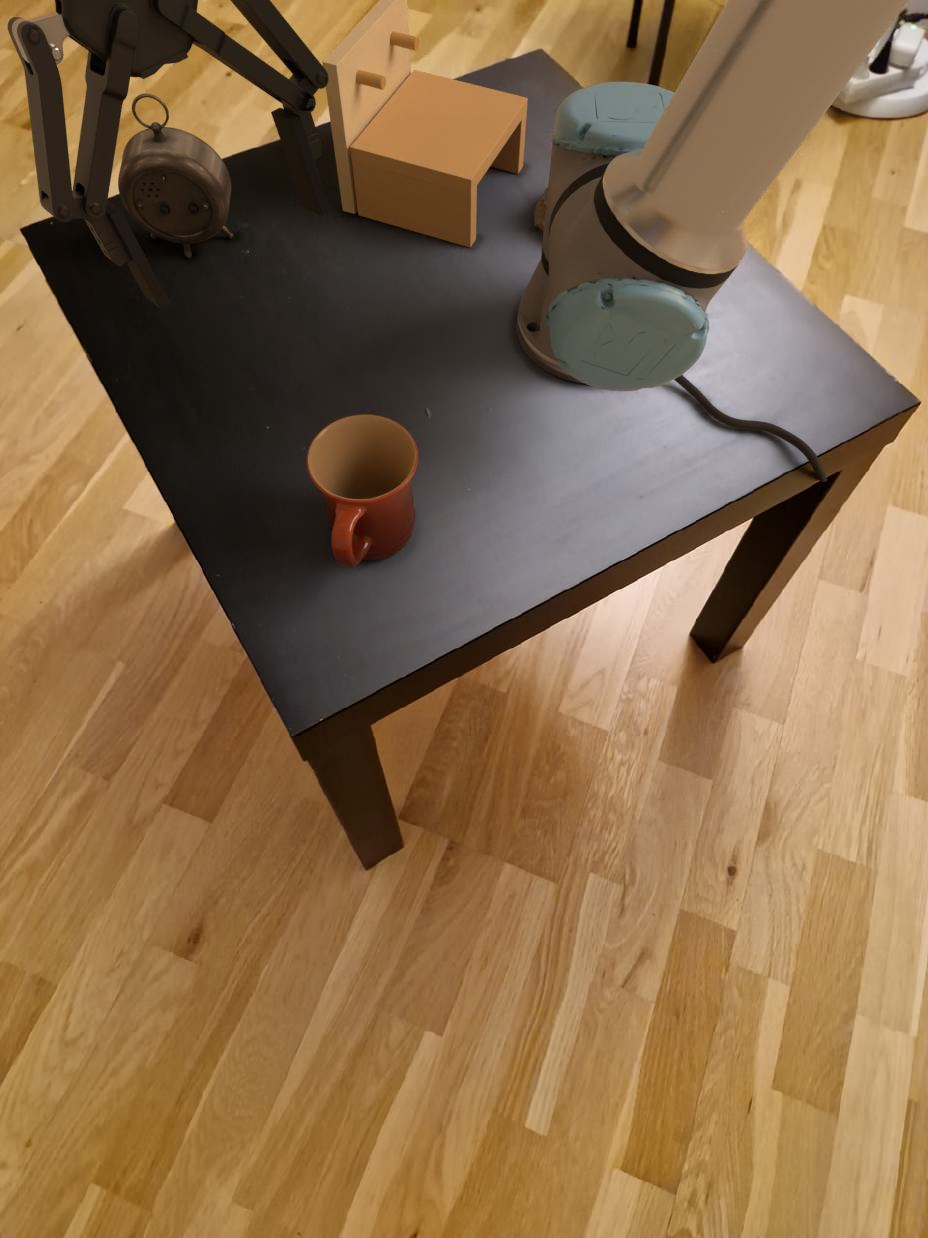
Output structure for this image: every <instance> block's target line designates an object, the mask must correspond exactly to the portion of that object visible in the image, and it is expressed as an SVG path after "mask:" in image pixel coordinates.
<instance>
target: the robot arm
mask: <svg viewBox="0 0 928 1238" xmlns="http://www.w3.org/2000/svg"><path fill="white" fill-rule="evenodd" d="M229 1H230V2H231V3H232V4H233V5H234V7H235V8H236V9H237V10H238V11H239V13H240V14H241V15H242V16H243V18H245V19H246V21H247V22H248V23H249V24H250V25H251V27H252V28H253V29H254V30H255V32H256V33H257V34H258V35H259V36H260V38H261V39H262V40H263V41H264V42H265V43H266V44H267V46H268V47H269V48H270V49H271V50H272V51H273V53H274V54H275V55H276V56H277V57H278V59H279V60H280V61H281V62H282V64H283V65H284V66H285V67H286V68H287V69H288V70H289V72H290V73H291V74H292V75H291V76H290V77H289V78H288V77H286V75H284V74H282V73H281V72H279V71H278V70H277V69H275V68H274V67H272V65H270V64H268V62H266V61H264V60H263V59H261V58H260V57H259V56H257V55H256V54H254V52H252V51H250V50H249V49H248V48H246V47H244V46H243V45H242V44H241V43H239V42H238V41H236V40H235V39H233V38H232V37H231V36H230V35H228V34H226V32H225V31H224V30H223V29H222V28H220V27H219V26H217V25H216V24H215V23H213V22H212V21H210V20H209V19H208V18H206V17H205V16H203V15H201V14H200V13H199V12H198V6H199V0H54V3H55V5H54V7H55V11H54V12H51V13H47V14H44V15H40V16H37V17H36V16H35V17H33V18H30V19H25V18H24V17H23V18H22V17H20V16H13V17H11V18H9V20H8V22H7V31H8V34H9V36H10V39H11V42H12V43H13V46H14V49H15V51H16V53H17V55H18V57H19V60H20V62H21V64H22V68H23V70H24V78H25V87H26V96H27V104H28V113H29V121H30V130H31V139H32V147H33V155H34V163H35V172H36V180H37V189H38V197H39V203H40V205H41V207H42V208H43V209H44V210H45V211H46V212H47V213H49V214H50V215H51V216H52V217H53V218H55V219H56V220H57V221H59V222H60V223H66V224H67V223H70V222H71V221H72V220H84V222H85V223H86V225H87V227H88V229H89V230H90V232H91V234H92V236H93V237H94V239H95V241H96V242H97V244H98V246H99V248H100V249H101V251H102V253H103V255H104V256H105V257H106V258H107V259H109V260H110V261H111V262H112V263H113V264H115V265H116V266H117V267H119V268H120V267H122V266H123V265H125V264H127V267H128V268H129V270H130V272H131V273H132V276H133V277H134V279H135V281H136V283H137V284H138V286H139V288H140V290H141V292H142V294H143V296H144V297H146V298H147V299H148V300H150V302H152V303H153V304H154V305H155V306H156V307H158V308H159V309H161V310H162V309H163V308H165V307H167V306H169V305H170V304H171V303H170V301H169V298H168V297H167V294H166V293H165V291H164V289H163V287H162V285H161V284H160V282H159V279H158V277H157V276H156V273H155V271H154V270H153V268H152V265H151V264H150V262H149V261H148V259H147V257H146V254H145V253H144V250H143V249H142V248H141V245H140V243H139V242H138V240H137V238H136V236H135V234H134V232H133V230H132V228H131V226H130V225H129V222H128V221H127V218H126V217H125V215H124V213H123V211H122V210H121V209H120V208H119V207H118V206H116V205H114V204H113V203H112V202H110V201H109V200H108V199H109V193H110V187H111V180H112V174H113V168H114V161H115V155H116V147H117V143H118V142H117V141H118V135H119V131H120V130H119V129H120V122H121V116H122V109H123V105H124V104H123V103H124V102H125V100H126V99H127V98H128V97H127V96H128V93H129V87H130V82H131V78H139V79H142V80H145V79H147V78H149V77H151V76H153V75H156V73H157V72H158V71H159V70H161V69H162V67H163V66H165V65H171V64H178V63H180V62H182V61H185V60H186V59H188V58H189V56H188V54H189V52H190V51H191V49H192V47H193V45H194V46H195V47H198V48H199V49H201V50H202V51H204V52H205V53H207V54H208V55H209V56H211V57H212V58H214V59H216V60H217V61H219V63H221V64H223V65H224V66H226V67H227V68H229V69H230V70H232V71H233V72H234V73H236V74H238V75H240V77H242V78H244V79H245V80H247V81H248V82H249V83H251V84H252V85H254V86H255V87H257V88H258V89H260V90H261V91H263V92H264V93H265V94H267V95H268V96H270V97H271V98H273V99H274V100H276V101H277V102H279V104H280V103H281V106H282V107H278V108H275V109H274V110H272V111H271V112H270V115H271V117H272V119H273V123H274V125H275V129H276V131H277V134H278V137H279V140H280V143H281V145H282V149H283V152H284V154H285V157H286V160H287V164H288V166H289V169H290V171H291V174H292V177H293V180H294V184H295V186H296V189H297V191H298V194H299V197H300V200H301V203H302V206H303V207H304V208H306V209H308V210H309V211H311V212H313V213H314V214H317V215H319V216H320V217H324V216H325V215H327V214H329V213H331V212H332V211H331V208H330V204H329V202H328V198H327V195H326V192H325V188H324V185H323V182H322V180H321V177H320V173H319V170H318V167H317V163H316V160H317V159H318V158H320V157H322V155H323V151H322V149H323V148H322V147H323V146H322V144H321V143H322V142H321V141H320V138H319V134H318V131H317V128H316V124H315V121H314V117H313V115H312V113H313V112H314V111H315V109H316V105H317V100H316V97H315V94H316V93H317V92H318V90H322V89H326V86H327V84H328V79H329V77H328V73H327V71H326V70H325V68H324V67H323V64H322V62H320V60H319V59H318V58H317V57H316V56H315V55H314V53H313V52H312V50H310V48H309V46H307V45H306V43H305V42H304V41H303V40H302V38H301V37H300V36H299V34H298V33H297V32H296V31H295V30H294V29H293V27H292V26H291V25H290V23H289V22H288V20H286V18H285V17H284V16H283V15H282V13H281V11H279V9H277V7H276V6H275V4H274V3H273V2H272V1H271V0H229ZM909 1H910V0H727V1H726V2H725V4H724V6H723V8H722V9H721V11H720V13H719V15H718V16H717V18H716V20H715V22H714V24H713V25H712V27H711V29H710V31H708V34H707V36H706V37H705V39H704V40H703V43H702V44H701V46H700V48H699V49H698V51H697V53H696V55H695V56H694V58H693V60H692V62H691V63H690V65H689V67H688V68H687V71H686V72H685V74H684V76H683V78H682V79H681V81H680V82H679V84H678V86H677V88H676V90H675V92H674V91H672V90H668V89H666V88H664V87H661V86H657V85H653V84H649V83H643V82H635V81H608V82H600V83H595V84H591V85H588V86H587V87H583V88H580V89H577V90H576V91H575V90H574V92H572V93H571V94H569V95H567V96H566V97H565V98H564V99H563V101H562V102H561V103H560V105H559V106H558V108H557V110H556V113H555V119H554V126H553V131H552V132H551V133H550V142H551V155H550V163H549V173H548V174H549V175H548V183H547V188H548V194H547V204H546V214H545V224H544V233H543V234H542V245H541V256H540V259H539V261H538V263H537V266H536V268H535V269H534V272H533V274H532V276H531V278H530V280H529V282H528V284H527V286H526V288H525V290H524V292H523V294H522V295H521V298H520V300H519V303H518V307H517V315H516V316H517V318H516V335H517V339H518V342H519V344H520V346H521V348H522V350H523V351H524V353H525V355H526V356H528V358H529V359H530V360H531V361H532V362H533V363H534V364H535V365H537V366H538V367H539V368H541V369H542V370H544V371H546V372H547V373H549V374H551V375H553V376H556V377H558V378H560V379H564V380H566V381H570V382H575V383H580V384H585V385H588V386H591V387H594V388H597V389H600V390H604V391H611V392H636V391H639V390H642V389H653V388H657V387H659V386H663V385H666V384H667V383H670V382H672V381H674V382H676V383H677V384H678V385H679V386H681V387H682V388H683V389H684V390H685V391H686V392H687V393H688V394H690V396H691V397H693V398H694V400H696V401H697V402H698V404H699V405H700V406H701V407H702V409H704V411H706V413H708V414H709V415H710V416H711V417H712V418H713V419H715V420H717V421H718V422H720V423H721V424H723V425H725V426H729V427H730V428H731V427H732V428H736V429H742V430H752V431H761V432H766V433H769V434H772V435H774V436H775V437H778V438H780V439H781V440H783V441H785V442H787V443H789V444H790V445H792V447H795V448H796V449H797V450H798V451H800V452H801V454H802V455H803V456H804V457H805V458H806V459H807V461H808V462H809V464H810V466H811V468H812V469H813V472H814V474H815V477H816V479H817V480H818V481H819V482H822V483H826V482H827V481H828V477H827V473H826V472H825V469H824V466H823V465H822V462H821V461H820V458H819V457H818V455H817V454H816V452H815V451H814V450H813V449H812V447H810V445H808V444H807V443H806V442H805V441H804V440H802V439H801V438H800V437H798V436H797V435H795V434H793V432H790V431H789V430H787V429H785V428H783V427H780V426H779V425H776V424H773V423H771V422H767V421H760V420H751V419H750V420H749V419H740V418H736V417H733V416H730V415H727V414H726V413H724V412H722V411H721V410H720V409H718V408H717V407H716V406H714V404H712V402H711V401H710V400H709V399H708V398H707V396H705V395H704V393H703V392H701V390H700V389H698V388H697V386H695V385H694V384H693V383H692V382H691V381H690V380H688V378H686V377H685V376H684V374H685V373H686V372H688V371H689V370H690V369H691V368H692V367H693V366H694V365H695V364H696V363H697V362H698V360H699V359H700V358H701V356H702V354H703V353H704V350H705V348H706V344H707V341H708V334H709V332H710V320H709V315H708V313H707V308H708V306H709V304H710V302H711V300H713V298H714V297H715V296H716V294H717V293H718V292H719V291H720V289H721V288H722V286H723V285H724V284H725V283H726V282H727V281H728V279H729V278H730V277H731V275H732V274H733V273H734V272H735V270H736V269H737V268H738V266H739V265H740V263H741V262H742V261H743V259H744V257H745V255H746V253H747V250H748V235H747V230H746V229H747V227H746V223H745V221H746V219H747V218H748V217H749V216H750V214H751V213H752V212H753V210H754V209H755V207H756V206H757V205H758V203H759V202H760V201H761V199H762V198H763V197H764V196H765V194H766V193H767V192H768V191H769V189H770V187H771V186H772V185H773V183H774V182H775V181H776V179H777V178H778V177H779V175H780V174H781V173H782V171H783V170H784V169H785V167H786V166H787V165H788V164H789V162H790V161H791V159H792V158H793V156H794V155H795V154H796V153H797V152H798V150H799V149H800V147H801V146H802V145H803V143H804V142H805V140H807V138H808V136H810V134H811V132H812V131H813V130H814V128H815V127H816V126H817V124H818V123H819V122H820V120H821V119H822V117H823V116H824V115H825V114H826V112H827V111H828V110H829V108H830V107H831V106H832V104H833V103H834V102H835V101H836V99H837V97H838V96H839V95H840V94H841V93H842V91H843V89H844V88H845V87H846V86H847V84H848V83H849V82H850V80H851V78H852V77H853V76H854V75H855V73H856V72H857V71H858V69H859V68H860V66H862V64H863V62H864V61H865V60H866V59H867V58H868V57H869V55H870V54H871V52H872V51H873V49H874V48H875V47H876V45H877V44H878V42H879V41H880V40H881V38H882V37H883V36H884V35H885V34H886V32H887V31H888V29H889V28H890V26H892V24H893V22H895V20H896V18H898V16H899V15H900V13H901V12H902V10H903V9H904V8H905V6H906V5H907V4H908V2H909ZM67 38H69V39H71V40H73V41H74V42H75V43H77V44H78V45H79V46H81V47H82V48H83V49H84V50H87V51H88V52H87V57H86V67H85V73H84V79H85V84H86V90H85V97H84V104H83V113H82V119H81V125H80V126H81V127H80V133H79V140H78V148H77V156H76V161H75V162H76V163H75V170H74V177H73V184H72V174H71V166H70V165H71V164H70V157H69V156H70V154H69V144H68V143H69V142H68V134H67V124H66V114H65V103H64V93H63V85H62V78H61V74H60V70H59V67H58V65H60V64H61V63H62V62H63V60H64V50H63V49H64V47H63V43H64V41H65V39H67Z"/></svg>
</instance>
